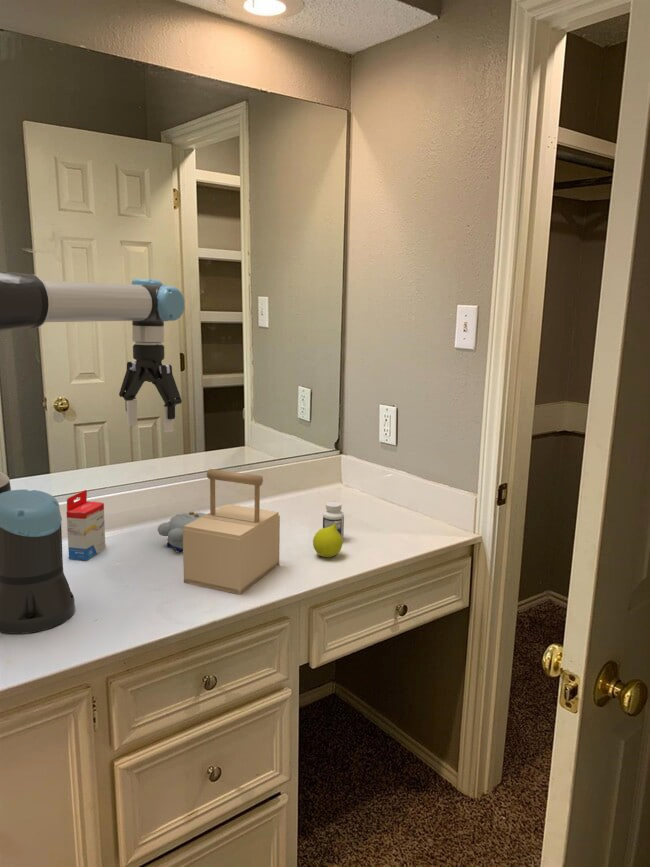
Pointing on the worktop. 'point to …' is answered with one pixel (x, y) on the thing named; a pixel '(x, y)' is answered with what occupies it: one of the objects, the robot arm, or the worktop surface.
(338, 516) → the pill bottle
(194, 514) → the figurine
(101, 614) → the worktop surface
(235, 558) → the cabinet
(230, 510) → the tan handled panel part
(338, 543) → the ornament
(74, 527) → the ink box
